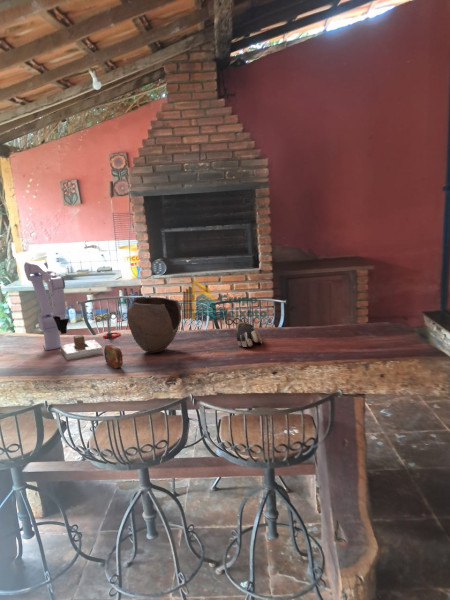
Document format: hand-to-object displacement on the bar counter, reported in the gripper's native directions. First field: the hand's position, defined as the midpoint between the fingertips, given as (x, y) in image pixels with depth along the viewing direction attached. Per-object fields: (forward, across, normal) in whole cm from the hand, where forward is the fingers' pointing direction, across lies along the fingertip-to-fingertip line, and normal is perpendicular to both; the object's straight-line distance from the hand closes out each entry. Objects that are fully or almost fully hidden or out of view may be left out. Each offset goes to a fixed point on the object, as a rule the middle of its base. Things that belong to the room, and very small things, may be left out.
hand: (62, 332), depth 210 cm
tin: (+11, +31, +15) cm, 36 cm away
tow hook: (+10, -17, +27) cm, 33 cm away
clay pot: (+11, +24, +37) cm, 46 cm away
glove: (+12, +37, +78) cm, 88 cm away
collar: (+10, +3, +7) cm, 13 cm away
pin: (+10, +3, +6) cm, 13 cm away
